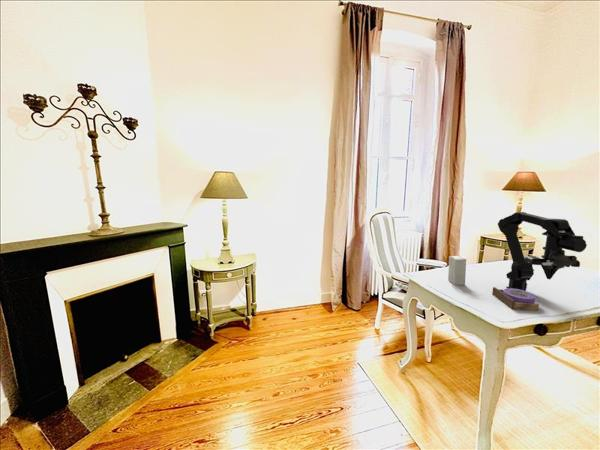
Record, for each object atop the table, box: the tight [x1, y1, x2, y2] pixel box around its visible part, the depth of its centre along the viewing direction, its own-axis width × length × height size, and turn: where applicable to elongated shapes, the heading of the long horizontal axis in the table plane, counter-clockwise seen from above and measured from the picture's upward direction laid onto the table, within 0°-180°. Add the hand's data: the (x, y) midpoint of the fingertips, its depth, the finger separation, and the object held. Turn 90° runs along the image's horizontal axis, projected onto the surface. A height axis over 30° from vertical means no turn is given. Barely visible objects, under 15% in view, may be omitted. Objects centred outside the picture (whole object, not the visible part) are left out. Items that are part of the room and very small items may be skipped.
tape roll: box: [502, 288, 536, 304], centre depth 124 cm, size 12×12×5 cm
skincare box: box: [447, 255, 467, 286], centre depth 149 cm, size 8×6×15 cm
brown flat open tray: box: [491, 286, 540, 312], centre depth 124 cm, size 10×16×4 cm, turn 170°
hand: (548, 279), depth 122 cm, fingers closed
